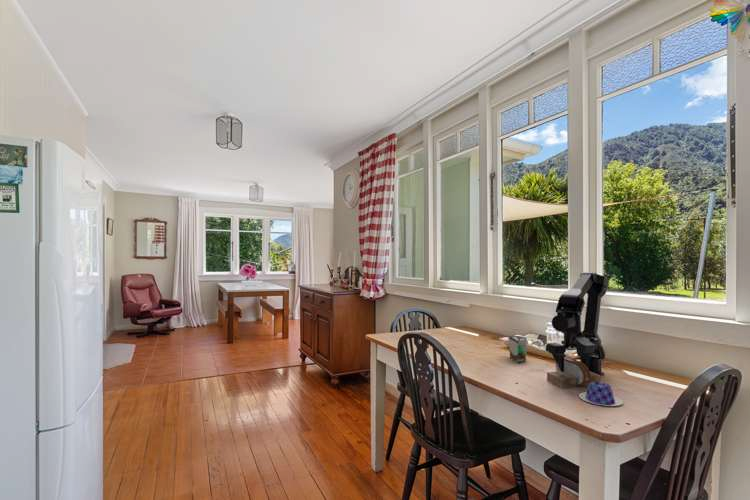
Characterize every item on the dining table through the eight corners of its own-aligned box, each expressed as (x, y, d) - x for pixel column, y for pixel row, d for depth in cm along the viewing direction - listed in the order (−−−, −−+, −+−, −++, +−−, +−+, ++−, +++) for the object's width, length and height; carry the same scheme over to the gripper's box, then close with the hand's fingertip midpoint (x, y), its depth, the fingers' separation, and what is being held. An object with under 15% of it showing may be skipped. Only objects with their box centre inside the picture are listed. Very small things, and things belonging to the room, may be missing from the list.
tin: (591, 388, 127) (591, 364, 127) (584, 389, 127) (583, 364, 127) (561, 375, 142) (560, 353, 142) (554, 376, 141) (553, 354, 142)
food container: (533, 364, 158) (532, 340, 158) (518, 364, 158) (518, 340, 158) (522, 356, 170) (521, 335, 171) (508, 356, 170) (508, 335, 171)
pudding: (580, 391, 125) (579, 376, 125) (622, 398, 119) (621, 382, 119) (577, 403, 115) (577, 386, 115) (623, 411, 109) (623, 393, 109)
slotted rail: (584, 377, 140) (583, 369, 140) (601, 383, 132) (600, 375, 132) (547, 380, 136) (546, 372, 136) (562, 387, 128) (562, 378, 129)
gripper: (565, 333, 125) (566, 379, 124) (611, 330, 129) (613, 375, 128) (544, 327, 136) (545, 370, 135) (587, 325, 140) (588, 366, 139)
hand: (573, 370), depth 134 cm, fingers open, 9 cm apart
